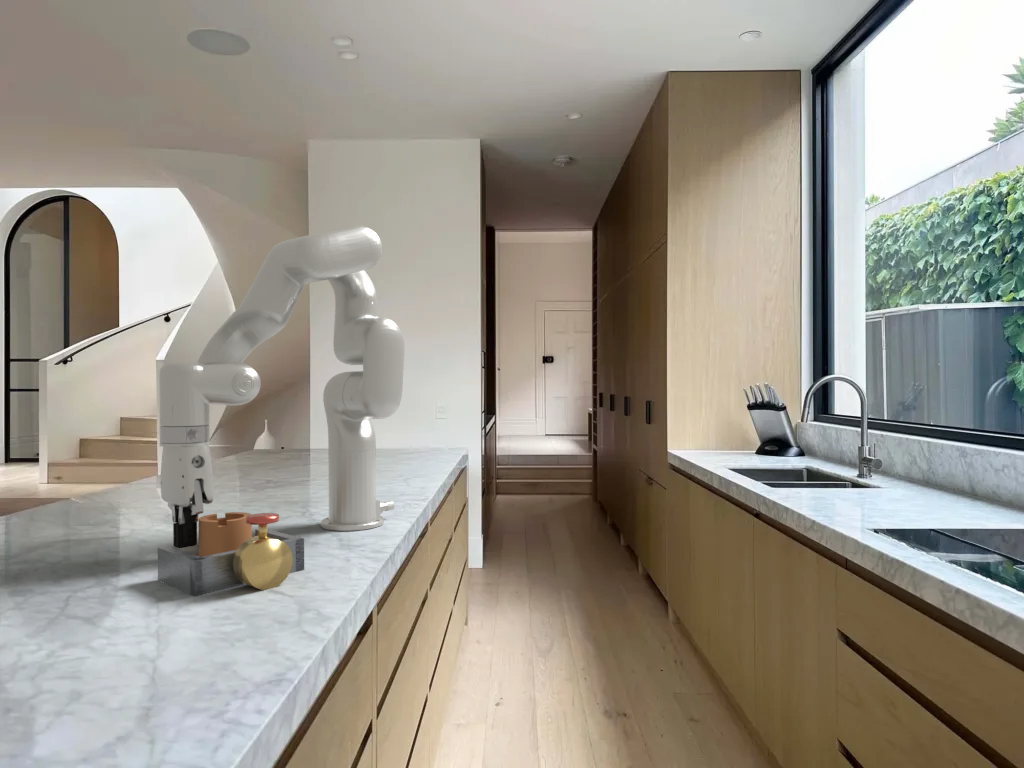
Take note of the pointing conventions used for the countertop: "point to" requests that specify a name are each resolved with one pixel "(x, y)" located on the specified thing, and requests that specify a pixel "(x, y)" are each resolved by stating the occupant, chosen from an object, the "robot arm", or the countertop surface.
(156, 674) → the countertop surface
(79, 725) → the countertop surface
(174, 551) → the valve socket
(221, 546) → the bracket
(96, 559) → the countertop surface
